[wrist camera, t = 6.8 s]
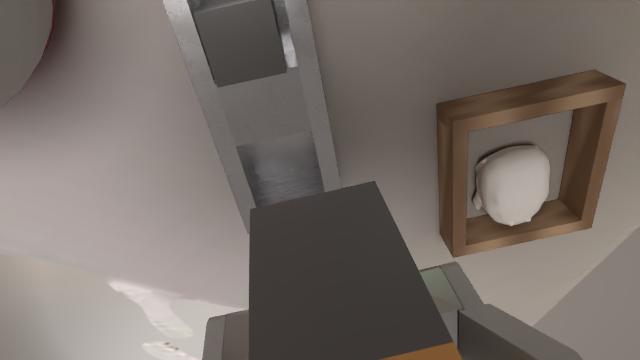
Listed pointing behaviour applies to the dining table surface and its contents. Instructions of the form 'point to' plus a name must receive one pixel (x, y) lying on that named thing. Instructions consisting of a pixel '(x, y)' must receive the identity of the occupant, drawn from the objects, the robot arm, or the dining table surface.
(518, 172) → the garlic
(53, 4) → the citrus juicer
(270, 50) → the twin plug
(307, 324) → the plug
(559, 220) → the garlic corral
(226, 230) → the dining table surface
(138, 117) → the dining table surface
